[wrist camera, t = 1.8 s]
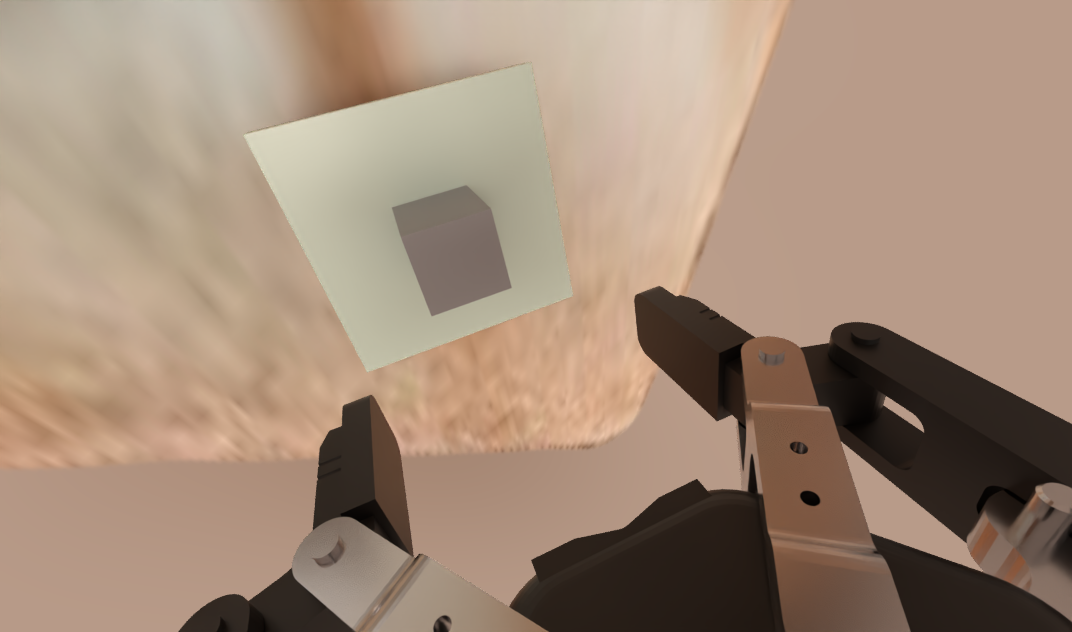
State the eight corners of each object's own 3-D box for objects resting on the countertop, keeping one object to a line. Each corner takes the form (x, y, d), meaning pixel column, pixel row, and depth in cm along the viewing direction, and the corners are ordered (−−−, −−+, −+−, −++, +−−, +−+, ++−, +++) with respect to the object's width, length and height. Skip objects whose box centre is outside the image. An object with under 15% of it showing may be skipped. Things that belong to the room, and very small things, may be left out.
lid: (250, 130, 21) (213, 151, 15) (519, 63, 23) (573, 59, 18) (366, 356, 28) (370, 427, 22) (562, 285, 30) (610, 333, 25)
